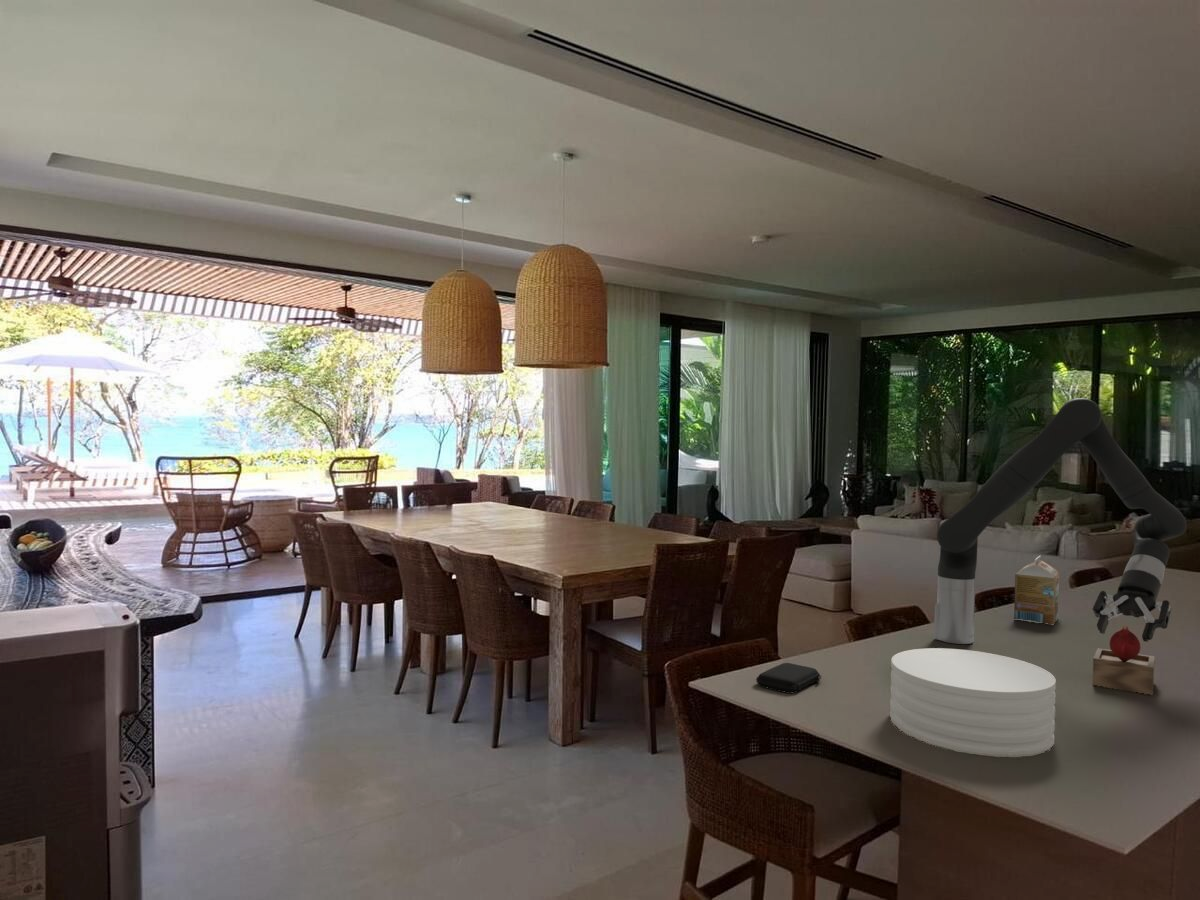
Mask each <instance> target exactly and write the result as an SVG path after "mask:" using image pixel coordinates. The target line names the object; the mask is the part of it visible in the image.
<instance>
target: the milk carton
mask: <svg viewBox="0 0 1200 900" xmlns="http://www.w3.org/2000/svg"><path fill="white" fill-rule="evenodd" d="M1041 557H1042V556H1041V555H1039V556H1037V557H1036V558H1035V559H1034V561H1033V562H1031V563H1029V564H1027V565H1025V566H1023V567H1022V568H1021V569H1019V570H1018V571H1017V572H1016V573H1015V575H1014V578H1015V579H1014V612H1013V613H1014V616H1013V620H1014V619H1023V620H1031V621H1036V622H1042V623H1048V624H1055V625H1056V623H1057V622H1058V620H1059V612H1060V611H1059V608H1060V607H1059V604H1060V603H1059V602H1060V601H1059V599H1060V575H1061V574H1060V572H1059V571H1058V570H1056V568H1054V566H1051V565H1050V564H1048V563H1047V562H1045V561H1043V560H1042V559H1041ZM1057 619H1058V620H1057ZM1056 621H1057V622H1056ZM1055 622H1056V623H1055Z"/></svg>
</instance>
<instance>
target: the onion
mask: <svg viewBox="0 0 1200 900" xmlns="http://www.w3.org/2000/svg"><path fill="white" fill-rule="evenodd" d="M1121 628H1122V629H1120V630H1118V631H1116V632H1115V633H1113V634H1112V636H1110V639H1109V648H1110V649H1109V650H1111V651H1112V652H1113V653H1114V654H1115V655H1116V656H1117V657H1118V658H1119V659H1120V660H1121V661H1123V662H1126V661H1128V660H1130V659H1132V658H1134V657H1135V656H1137V655H1138V654H1140V651H1141V643H1140V640H1139V638H1138V637H1137V636H1136V634H1134V633H1133V632H1132V631H1130V629H1129V627H1128V626H1126V625H1122V627H1121Z"/></svg>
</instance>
